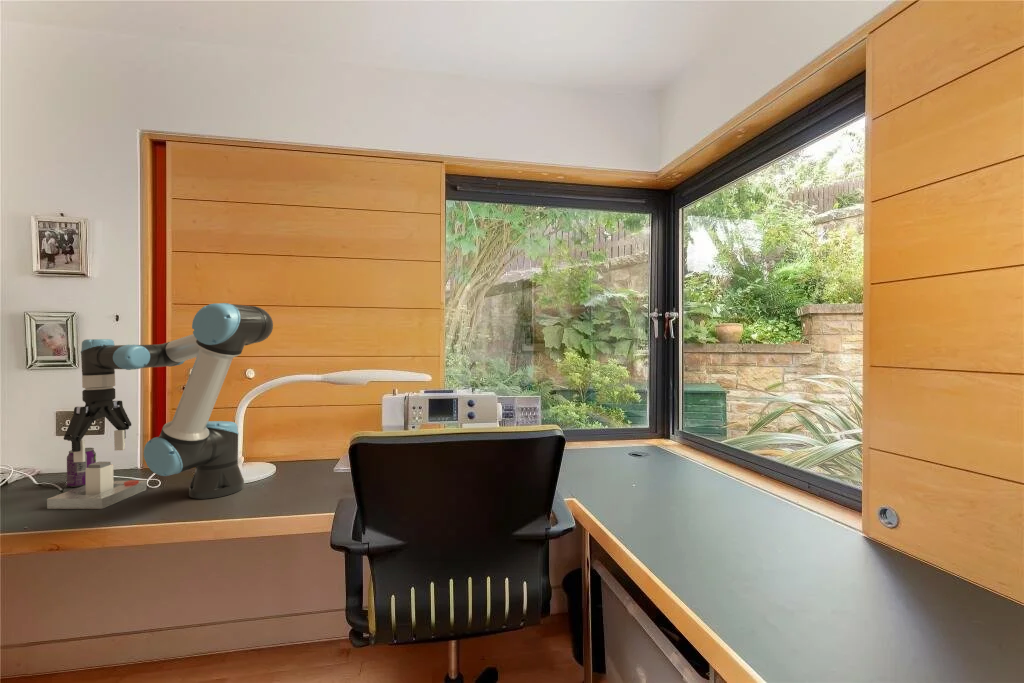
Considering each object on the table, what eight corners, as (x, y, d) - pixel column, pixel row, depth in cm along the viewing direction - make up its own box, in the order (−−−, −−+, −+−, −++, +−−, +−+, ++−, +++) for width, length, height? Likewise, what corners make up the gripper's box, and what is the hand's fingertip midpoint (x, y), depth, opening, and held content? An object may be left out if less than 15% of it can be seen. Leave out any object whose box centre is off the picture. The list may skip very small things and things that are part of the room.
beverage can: (101, 481, 153) (101, 447, 153) (82, 488, 146) (82, 452, 146) (80, 481, 153) (80, 447, 153) (60, 488, 146) (60, 452, 146)
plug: (113, 495, 139) (113, 461, 139) (100, 500, 135) (100, 465, 135) (99, 495, 139) (99, 461, 139) (85, 500, 135) (85, 465, 135)
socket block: (146, 489, 145) (146, 478, 145) (102, 508, 129) (102, 496, 129) (97, 489, 145) (97, 478, 145) (47, 508, 129) (47, 496, 129)
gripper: (121, 384, 149) (123, 446, 149) (44, 393, 124) (46, 467, 124) (144, 383, 149) (145, 445, 149) (71, 393, 124) (73, 467, 124)
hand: (100, 455), depth 137 cm, fingers open, 13 cm apart
